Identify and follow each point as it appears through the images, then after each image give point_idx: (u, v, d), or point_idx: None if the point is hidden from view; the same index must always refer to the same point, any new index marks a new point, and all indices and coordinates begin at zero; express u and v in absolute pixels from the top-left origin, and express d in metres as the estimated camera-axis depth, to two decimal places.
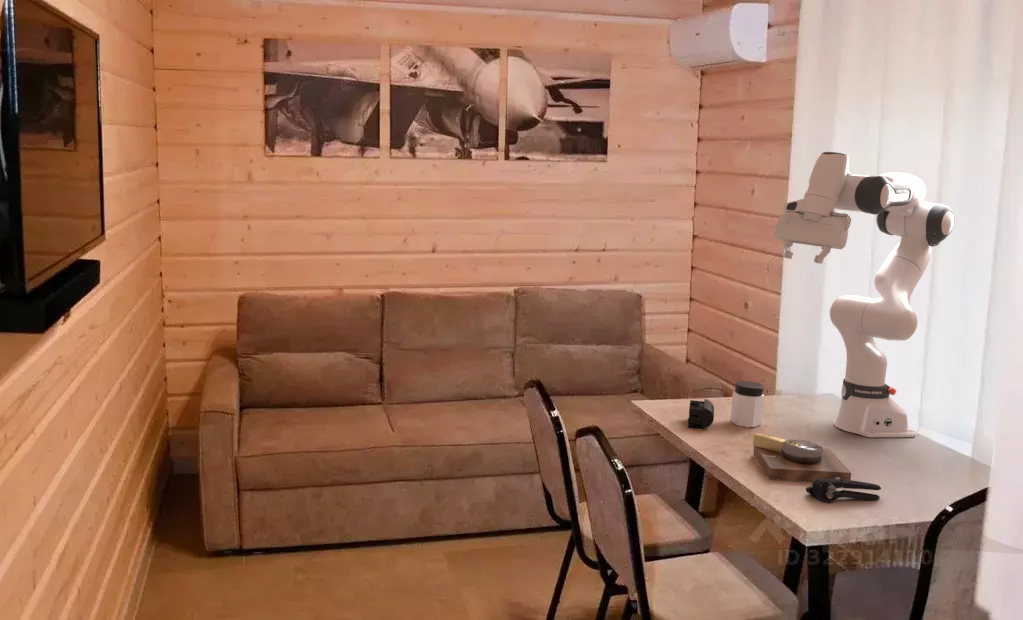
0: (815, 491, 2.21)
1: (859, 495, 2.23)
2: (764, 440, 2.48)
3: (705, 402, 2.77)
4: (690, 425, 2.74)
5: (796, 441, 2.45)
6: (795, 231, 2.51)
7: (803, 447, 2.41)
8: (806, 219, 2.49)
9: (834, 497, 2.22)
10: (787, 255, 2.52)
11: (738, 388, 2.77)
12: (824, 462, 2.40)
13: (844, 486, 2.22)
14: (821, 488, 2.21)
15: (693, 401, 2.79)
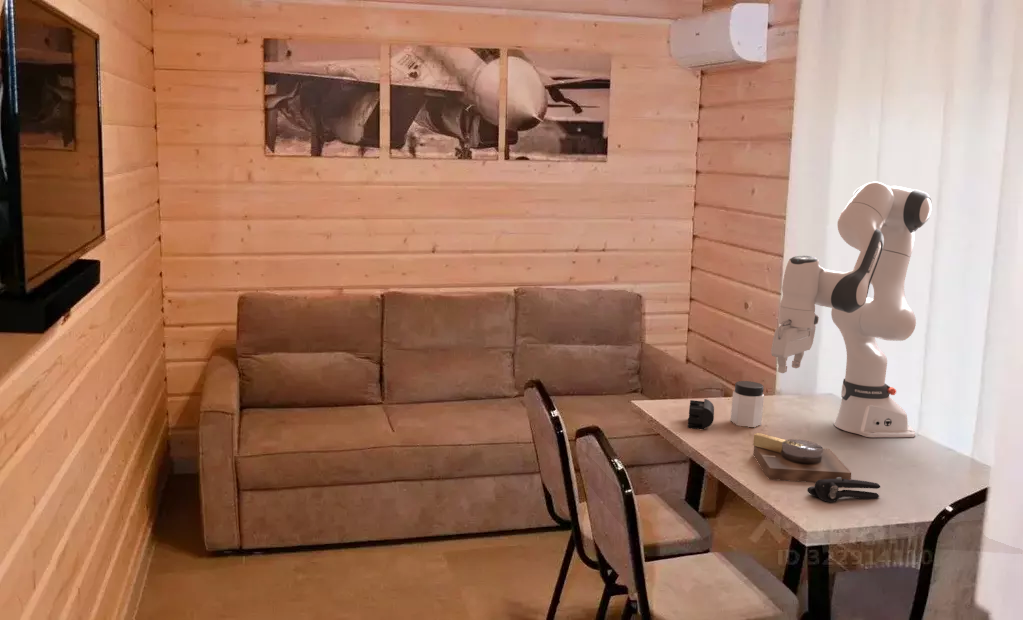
0: (818, 492, 2.21)
1: (860, 494, 2.24)
2: (764, 440, 2.48)
3: (705, 402, 2.77)
4: (690, 425, 2.74)
5: (796, 441, 2.45)
6: None
7: (803, 447, 2.41)
8: None
9: (836, 497, 2.22)
10: None
11: (738, 388, 2.77)
12: (824, 462, 2.40)
13: (846, 486, 2.23)
14: (823, 489, 2.21)
15: (693, 401, 2.79)
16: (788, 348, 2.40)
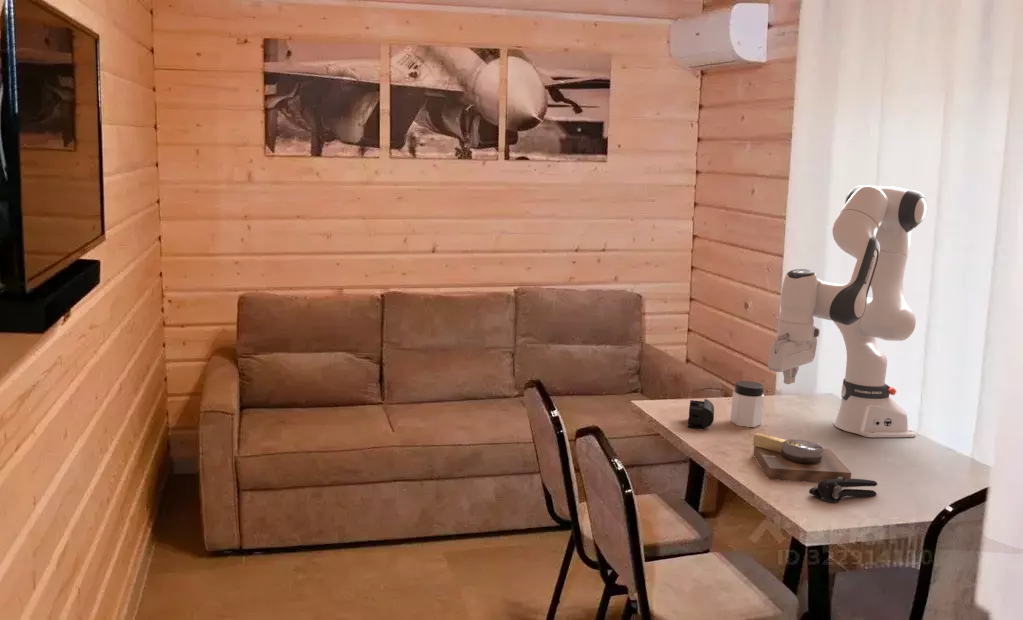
0: (822, 493, 2.21)
1: (860, 493, 2.25)
2: (764, 440, 2.48)
3: (705, 402, 2.77)
4: (690, 425, 2.74)
5: (796, 441, 2.45)
6: None
7: (803, 447, 2.41)
8: None
9: (839, 497, 2.22)
10: None
11: (738, 388, 2.77)
12: (824, 462, 2.40)
13: (847, 485, 2.23)
14: (827, 489, 2.21)
15: (693, 401, 2.79)
16: (785, 362, 2.41)
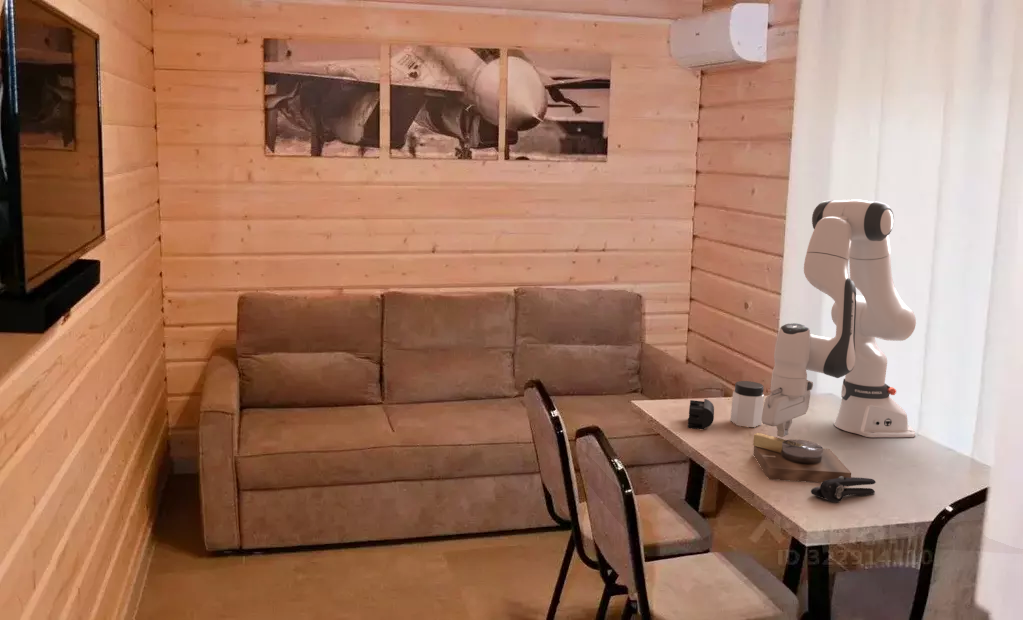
0: (825, 493, 2.21)
1: (860, 492, 2.25)
2: (764, 440, 2.48)
3: (705, 402, 2.77)
4: (690, 425, 2.74)
5: (796, 441, 2.45)
6: None
7: (803, 447, 2.41)
8: None
9: (841, 496, 2.22)
10: None
11: (738, 388, 2.77)
12: (824, 462, 2.40)
13: (848, 484, 2.24)
14: (830, 489, 2.21)
15: (693, 401, 2.79)
16: (778, 416, 2.43)
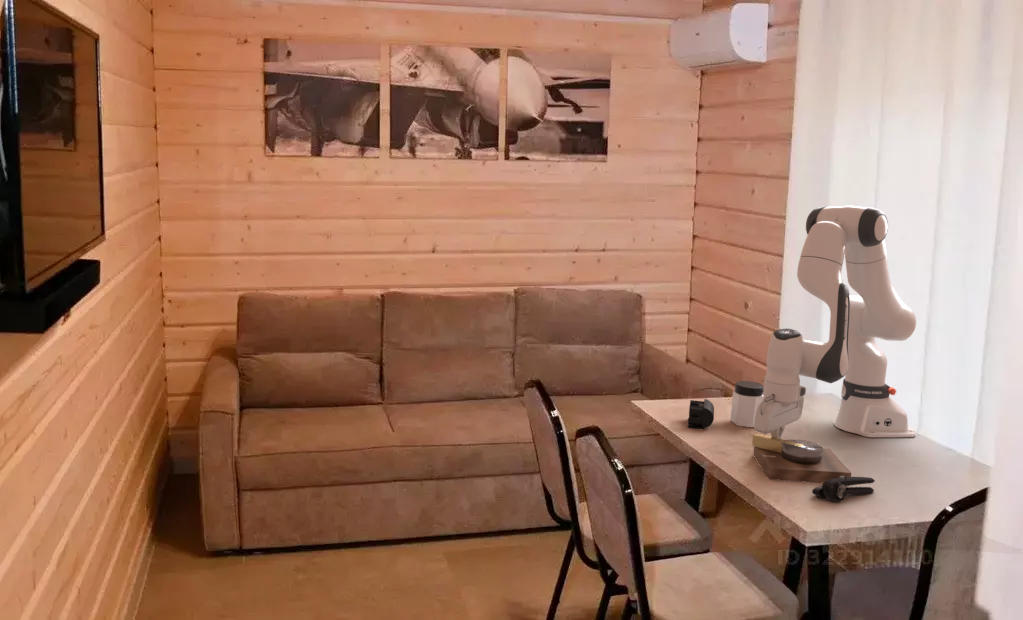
0: (827, 493, 2.21)
1: (860, 491, 2.26)
2: (764, 441, 2.47)
3: (705, 402, 2.77)
4: (690, 425, 2.74)
5: (795, 441, 2.45)
6: None
7: (803, 447, 2.41)
8: None
9: (842, 496, 2.23)
10: None
11: (738, 388, 2.77)
12: (824, 462, 2.40)
13: (849, 484, 2.24)
14: (832, 489, 2.21)
15: (693, 401, 2.79)
16: (771, 423, 2.41)
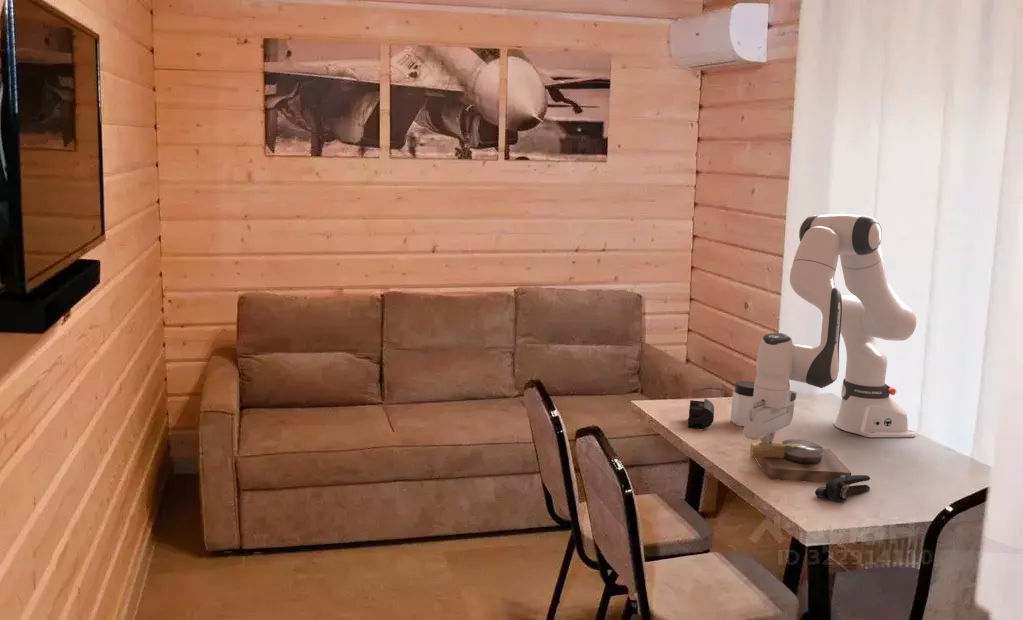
0: (831, 493, 2.21)
1: (859, 489, 2.27)
2: (765, 449, 2.41)
3: (705, 402, 2.77)
4: (690, 425, 2.74)
5: (789, 442, 2.44)
6: None
7: (806, 447, 2.41)
8: None
9: None
10: None
11: (738, 388, 2.77)
12: (824, 462, 2.40)
13: (849, 483, 2.25)
14: (836, 489, 2.21)
15: (693, 401, 2.79)
16: (760, 430, 2.37)
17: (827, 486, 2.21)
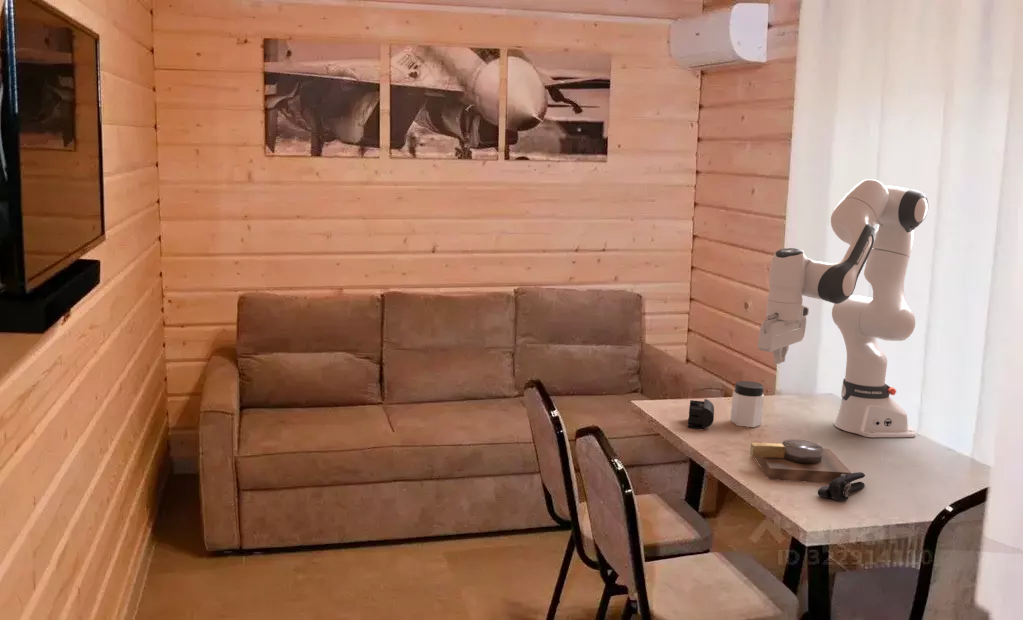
0: (835, 493, 2.21)
1: (857, 487, 2.28)
2: (765, 449, 2.41)
3: (705, 402, 2.77)
4: (690, 425, 2.74)
5: (789, 442, 2.44)
6: None
7: (806, 447, 2.41)
8: None
9: None
10: None
11: (738, 388, 2.77)
12: (824, 462, 2.40)
13: (849, 481, 2.26)
14: (839, 489, 2.21)
15: (693, 401, 2.79)
16: (774, 342, 2.41)
17: (831, 486, 2.21)
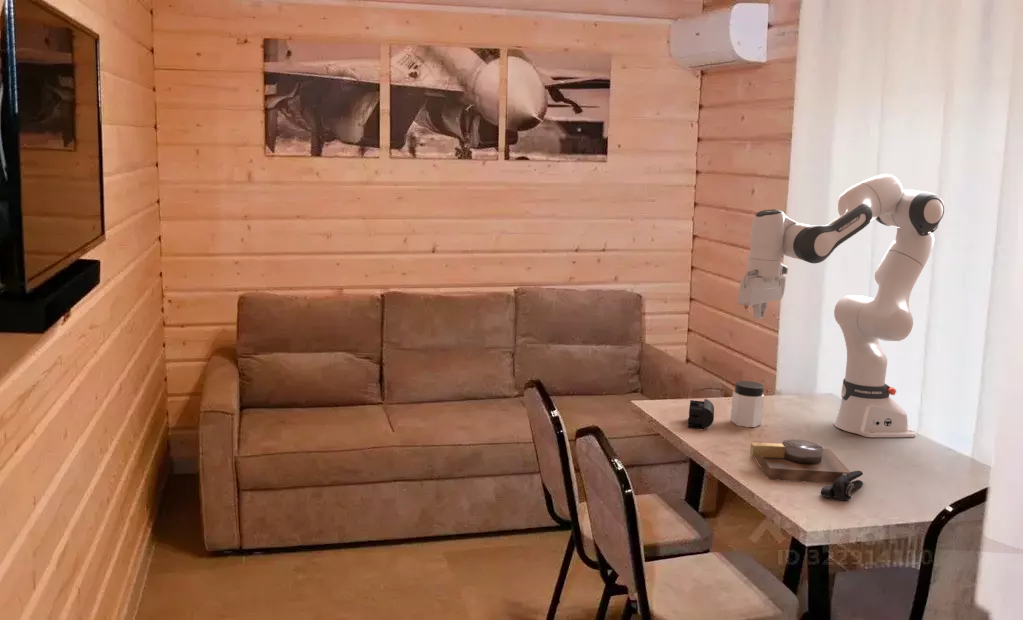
0: (839, 492, 2.21)
1: (857, 485, 2.29)
2: (765, 449, 2.41)
3: (705, 402, 2.77)
4: (690, 425, 2.74)
5: (789, 442, 2.44)
6: None
7: (806, 447, 2.41)
8: None
9: None
10: None
11: (738, 388, 2.77)
12: (824, 462, 2.40)
13: (850, 480, 2.26)
14: (843, 488, 2.21)
15: (693, 401, 2.79)
16: (753, 296, 2.54)
17: (834, 486, 2.21)
